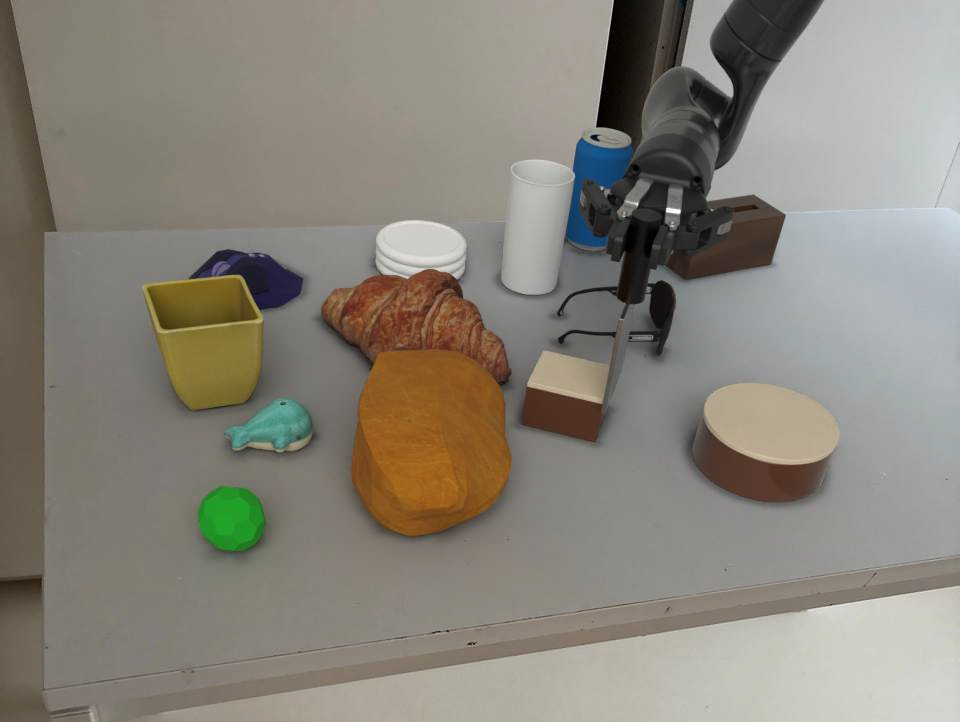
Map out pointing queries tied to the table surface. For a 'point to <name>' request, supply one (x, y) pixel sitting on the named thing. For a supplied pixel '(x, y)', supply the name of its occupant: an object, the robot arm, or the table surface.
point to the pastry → (414, 319)
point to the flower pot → (208, 338)
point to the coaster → (419, 249)
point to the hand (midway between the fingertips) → (635, 253)
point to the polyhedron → (231, 518)
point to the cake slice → (566, 396)
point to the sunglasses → (658, 309)
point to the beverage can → (596, 177)
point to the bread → (429, 441)
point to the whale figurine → (274, 428)
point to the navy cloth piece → (254, 276)
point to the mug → (535, 225)
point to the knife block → (736, 240)
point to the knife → (631, 286)
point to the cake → (764, 442)
